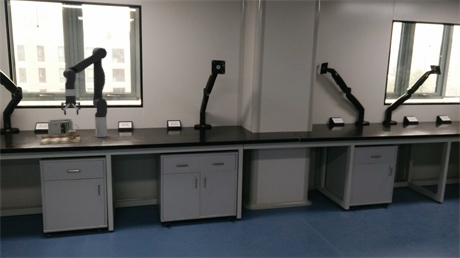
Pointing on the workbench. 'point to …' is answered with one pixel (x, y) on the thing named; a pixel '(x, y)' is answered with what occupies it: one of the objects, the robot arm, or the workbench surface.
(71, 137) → the brown boxy piece
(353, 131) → the workbench surface
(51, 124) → the geiger counter
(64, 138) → the maple board
